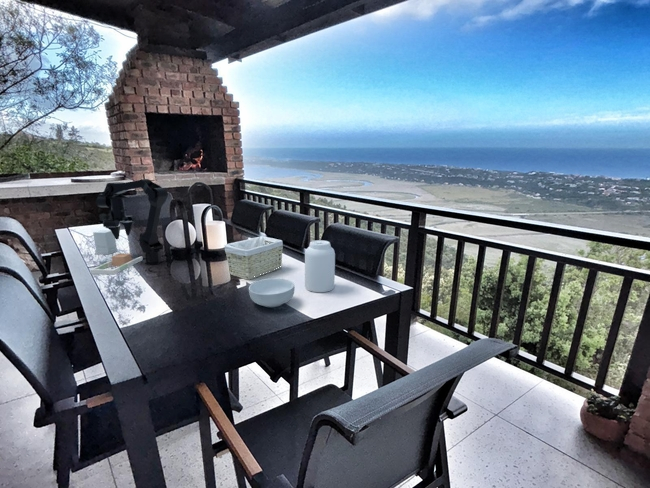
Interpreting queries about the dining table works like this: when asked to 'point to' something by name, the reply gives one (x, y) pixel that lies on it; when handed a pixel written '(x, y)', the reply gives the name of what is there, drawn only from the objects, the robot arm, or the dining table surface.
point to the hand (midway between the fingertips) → (122, 237)
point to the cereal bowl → (271, 291)
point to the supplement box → (105, 242)
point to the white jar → (319, 266)
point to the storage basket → (254, 257)
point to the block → (121, 259)
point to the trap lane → (102, 267)
